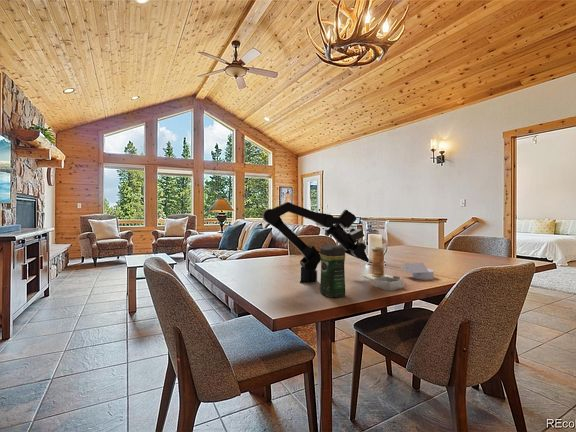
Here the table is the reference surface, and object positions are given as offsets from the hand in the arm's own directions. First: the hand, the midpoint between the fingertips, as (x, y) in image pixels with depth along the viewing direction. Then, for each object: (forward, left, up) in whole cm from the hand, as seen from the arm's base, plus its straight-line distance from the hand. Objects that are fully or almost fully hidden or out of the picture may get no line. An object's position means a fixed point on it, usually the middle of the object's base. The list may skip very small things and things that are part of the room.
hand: (363, 259), depth 135 cm
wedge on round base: (+25, +7, -9) cm, 27 cm away
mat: (+7, +3, -8) cm, 11 cm away
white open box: (+10, -13, -8) cm, 18 cm away
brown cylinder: (+6, +3, -8) cm, 11 cm away
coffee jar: (-11, -28, -9) cm, 32 cm away
